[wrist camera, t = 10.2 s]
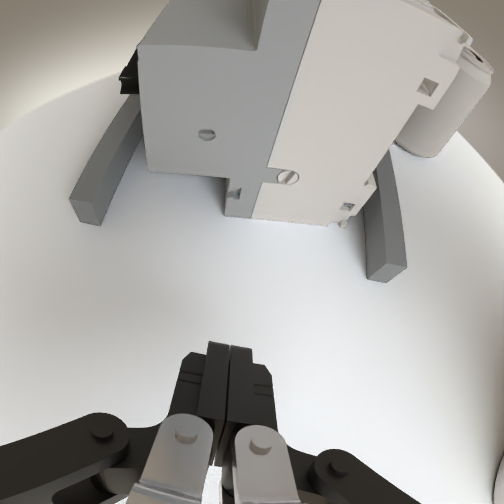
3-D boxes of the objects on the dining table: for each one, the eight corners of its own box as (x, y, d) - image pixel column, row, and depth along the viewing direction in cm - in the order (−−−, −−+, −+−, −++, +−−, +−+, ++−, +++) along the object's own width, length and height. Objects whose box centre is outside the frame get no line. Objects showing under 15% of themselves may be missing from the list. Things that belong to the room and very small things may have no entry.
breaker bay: (371, 145, 26) (405, 90, 20) (386, 282, 20) (449, 234, 14) (146, 96, 24) (144, 30, 18) (80, 221, 18) (46, 149, 12)
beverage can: (444, 164, 27) (509, 82, 17) (399, 160, 26) (469, 59, 15) (417, 121, 30) (468, 41, 19) (372, 113, 28) (423, 19, 18)
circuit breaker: (150, 129, 22) (149, -63, 9) (330, 149, 24) (409, -14, 11) (128, 209, 19) (89, -39, 6) (345, 228, 21) (477, 41, 8)
